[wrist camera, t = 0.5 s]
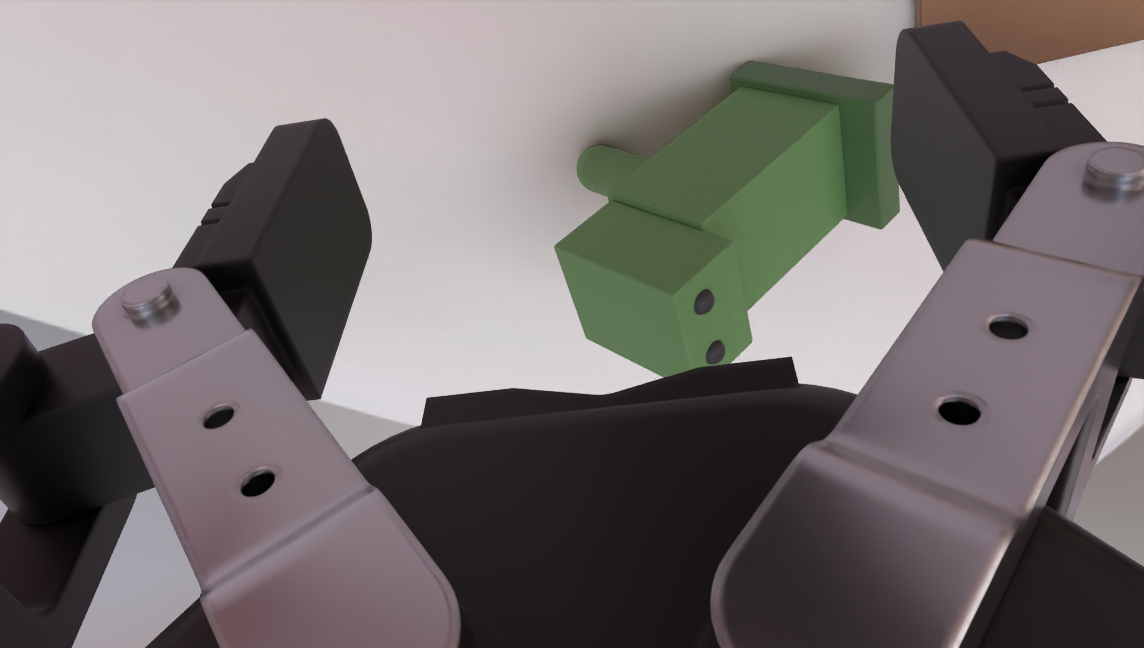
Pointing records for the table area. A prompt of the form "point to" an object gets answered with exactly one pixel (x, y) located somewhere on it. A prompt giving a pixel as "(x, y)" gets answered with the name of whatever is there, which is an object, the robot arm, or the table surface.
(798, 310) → the table surface
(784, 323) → the table surface
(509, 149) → the table surface
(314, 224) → the robot arm
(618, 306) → the toy dinosaur
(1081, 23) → the wooden board
